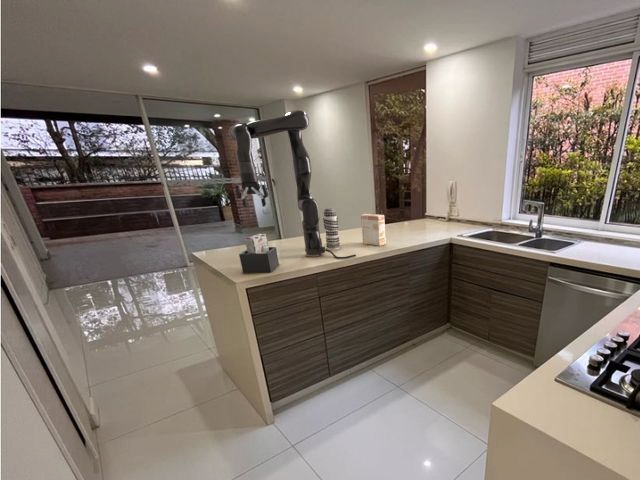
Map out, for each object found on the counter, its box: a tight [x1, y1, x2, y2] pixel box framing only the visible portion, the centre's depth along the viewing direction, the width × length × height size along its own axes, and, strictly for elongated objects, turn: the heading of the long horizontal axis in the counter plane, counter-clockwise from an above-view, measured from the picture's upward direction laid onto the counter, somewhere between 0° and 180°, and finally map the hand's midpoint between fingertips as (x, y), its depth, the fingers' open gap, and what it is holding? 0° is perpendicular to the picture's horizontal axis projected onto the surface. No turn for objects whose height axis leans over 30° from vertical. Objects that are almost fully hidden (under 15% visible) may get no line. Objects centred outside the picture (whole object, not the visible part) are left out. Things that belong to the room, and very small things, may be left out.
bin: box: [238, 246, 280, 274], centre depth 175 cm, size 14×15×10 cm
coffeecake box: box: [360, 213, 386, 247], centre depth 228 cm, size 15×7×20 cm, turn 58°
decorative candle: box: [322, 207, 341, 251], centre depth 214 cm, size 9×9×25 cm
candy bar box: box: [244, 233, 270, 254], centre depth 173 cm, size 11×5×16 cm, turn 169°
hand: (255, 206), depth 170 cm, fingers open, 8 cm apart
